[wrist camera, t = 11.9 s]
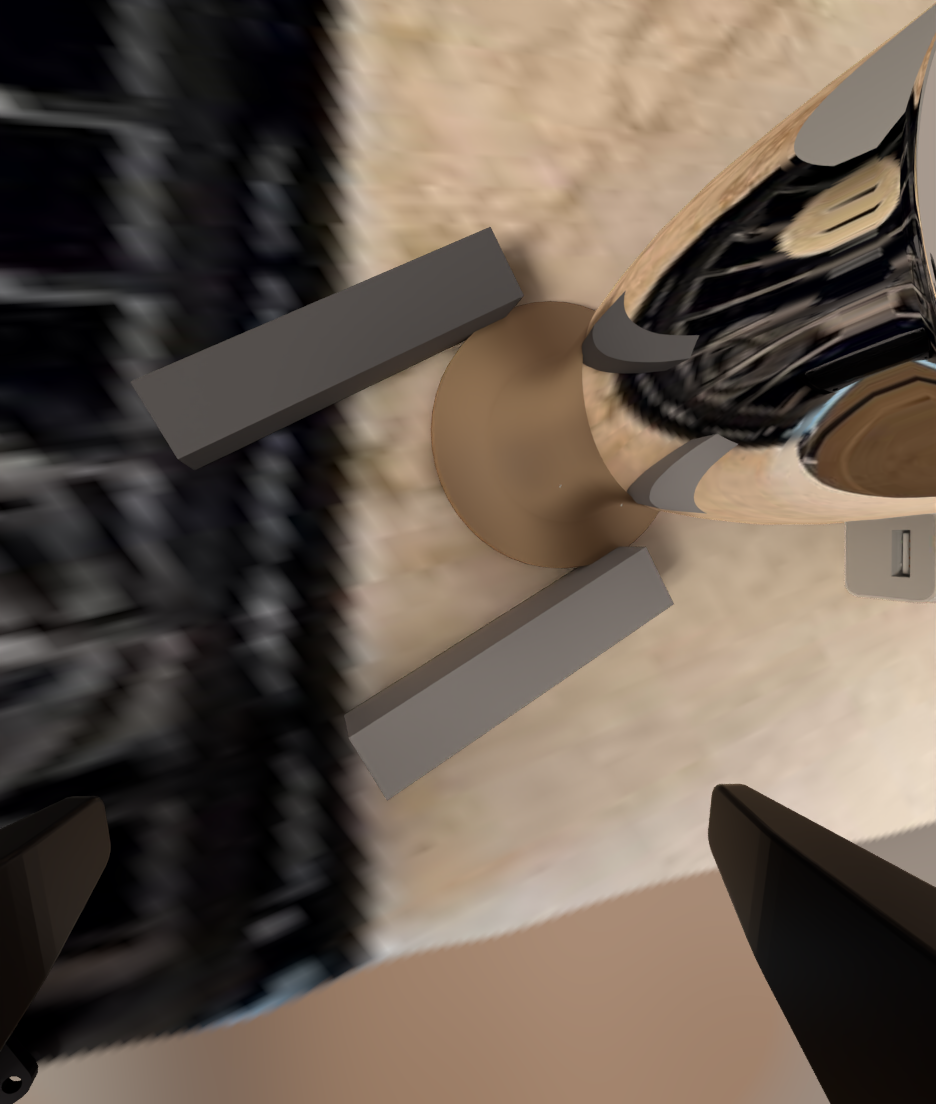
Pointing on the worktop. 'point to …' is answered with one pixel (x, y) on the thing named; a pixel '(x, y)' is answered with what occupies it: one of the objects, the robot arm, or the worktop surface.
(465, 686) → the grey square beam
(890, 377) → the silver metal cup
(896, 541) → the usb wall charger
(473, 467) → the coaster
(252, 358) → the long grey square rod
